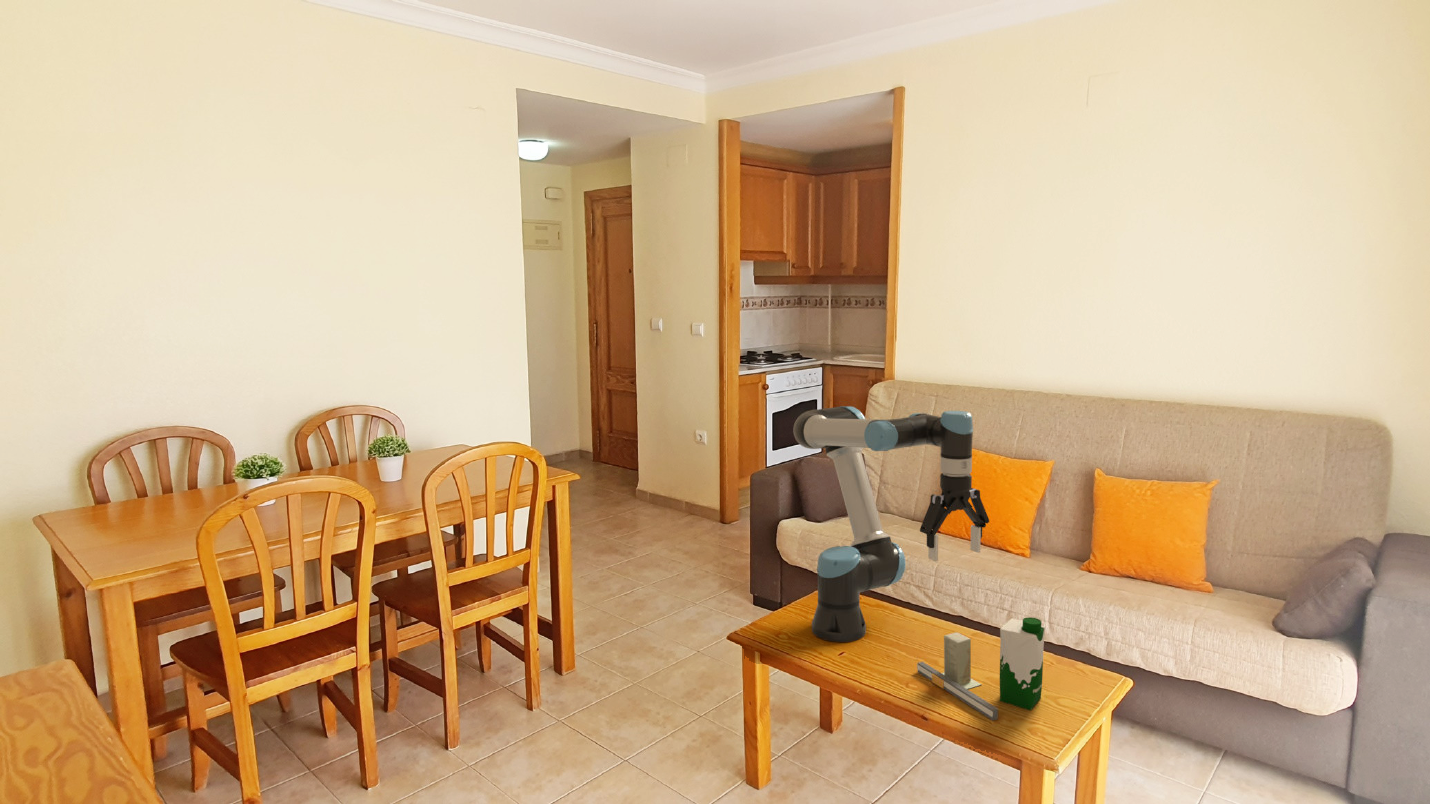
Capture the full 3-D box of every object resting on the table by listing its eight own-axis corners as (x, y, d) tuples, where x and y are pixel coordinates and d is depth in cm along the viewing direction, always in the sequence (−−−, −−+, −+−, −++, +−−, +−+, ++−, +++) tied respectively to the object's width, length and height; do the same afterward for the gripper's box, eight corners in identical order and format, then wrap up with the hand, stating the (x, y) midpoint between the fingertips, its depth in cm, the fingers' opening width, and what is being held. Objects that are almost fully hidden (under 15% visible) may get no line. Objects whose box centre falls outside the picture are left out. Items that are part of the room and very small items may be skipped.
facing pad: (933, 676, 204) (933, 675, 204) (955, 669, 206) (955, 669, 206) (958, 691, 195) (958, 691, 195) (981, 685, 198) (981, 684, 198)
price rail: (916, 672, 206) (916, 663, 205) (922, 670, 206) (922, 661, 206) (991, 721, 182) (991, 710, 182) (997, 718, 183) (997, 708, 183)
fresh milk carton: (1033, 713, 185) (1036, 629, 182) (994, 701, 191) (996, 620, 188) (1046, 698, 192) (1049, 617, 189) (1007, 686, 197) (1009, 608, 194)
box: (971, 682, 200) (972, 639, 198) (957, 686, 198) (958, 642, 196) (956, 673, 204) (956, 631, 203) (942, 677, 202) (943, 634, 201)
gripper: (925, 482, 195) (924, 567, 198) (1005, 470, 205) (1002, 551, 208) (905, 476, 202) (905, 558, 205) (983, 464, 212) (981, 543, 215)
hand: (954, 555), depth 206 cm, fingers open, 13 cm apart
